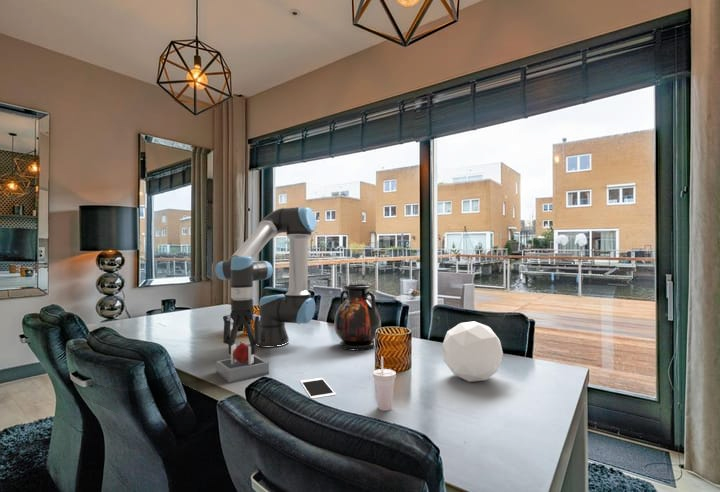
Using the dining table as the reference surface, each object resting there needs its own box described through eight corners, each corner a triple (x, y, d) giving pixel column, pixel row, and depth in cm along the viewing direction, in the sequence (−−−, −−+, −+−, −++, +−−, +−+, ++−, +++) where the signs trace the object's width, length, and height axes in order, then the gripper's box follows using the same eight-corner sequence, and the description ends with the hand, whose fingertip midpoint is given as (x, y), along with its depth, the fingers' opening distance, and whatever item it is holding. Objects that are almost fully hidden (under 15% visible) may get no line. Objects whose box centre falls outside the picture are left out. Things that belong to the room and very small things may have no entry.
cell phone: (322, 379, 124) (322, 377, 124) (336, 396, 109) (336, 394, 109) (299, 382, 122) (299, 380, 122) (311, 400, 107) (311, 398, 107)
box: (253, 364, 141) (253, 354, 141) (268, 373, 130) (268, 362, 130) (216, 372, 132) (216, 361, 132) (229, 382, 121) (229, 370, 121)
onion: (251, 360, 134) (251, 339, 134) (250, 365, 129) (250, 342, 129) (234, 362, 133) (234, 340, 133) (233, 366, 127) (232, 344, 128)
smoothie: (372, 403, 103) (371, 353, 103) (394, 402, 103) (393, 353, 104) (374, 413, 96) (374, 360, 97) (398, 412, 97) (397, 359, 97)
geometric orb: (476, 405, 116) (464, 366, 107) (438, 367, 133) (424, 330, 123) (519, 371, 121) (512, 330, 111) (477, 338, 138) (467, 300, 128)
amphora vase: (324, 348, 164) (323, 286, 164) (352, 338, 181) (351, 282, 182) (363, 355, 151) (363, 288, 152) (389, 344, 169) (389, 284, 170)
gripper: (212, 300, 129) (212, 365, 128) (263, 300, 126) (263, 367, 126) (222, 297, 136) (222, 359, 136) (270, 297, 134) (271, 360, 133)
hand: (242, 363), depth 131 cm, fingers closed on onion, 6 cm apart
